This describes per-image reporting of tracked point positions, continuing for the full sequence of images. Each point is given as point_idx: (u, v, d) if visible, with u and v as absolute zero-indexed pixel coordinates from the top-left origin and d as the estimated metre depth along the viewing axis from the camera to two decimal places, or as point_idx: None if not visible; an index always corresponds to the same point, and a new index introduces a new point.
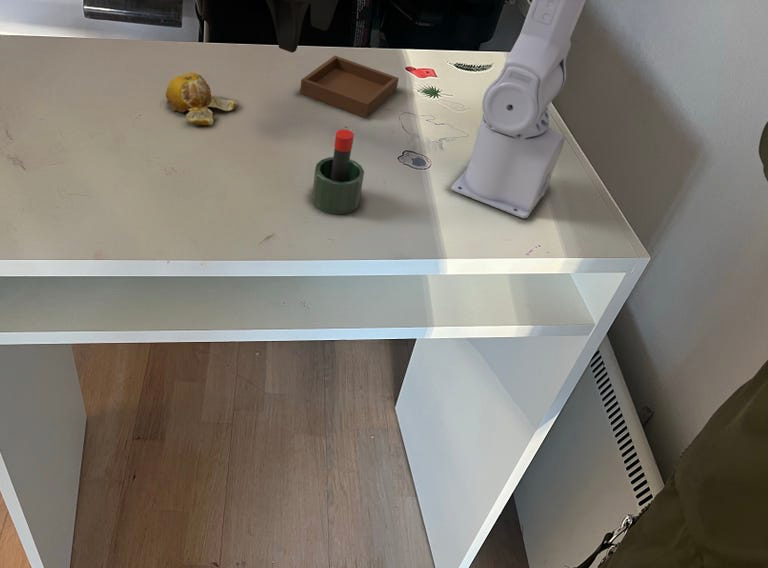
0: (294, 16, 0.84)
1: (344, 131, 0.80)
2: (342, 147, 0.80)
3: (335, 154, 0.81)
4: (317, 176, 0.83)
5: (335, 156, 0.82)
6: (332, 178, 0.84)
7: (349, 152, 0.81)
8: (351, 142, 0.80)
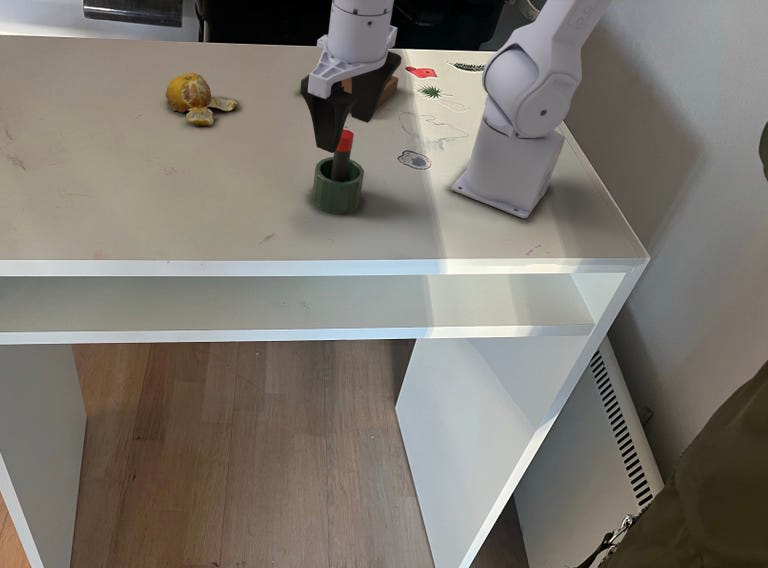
0: (337, 117, 0.73)
1: (344, 131, 0.80)
2: (342, 147, 0.80)
3: (335, 154, 0.81)
4: (317, 176, 0.83)
5: (335, 156, 0.82)
6: (332, 178, 0.84)
7: (349, 152, 0.81)
8: (351, 142, 0.80)
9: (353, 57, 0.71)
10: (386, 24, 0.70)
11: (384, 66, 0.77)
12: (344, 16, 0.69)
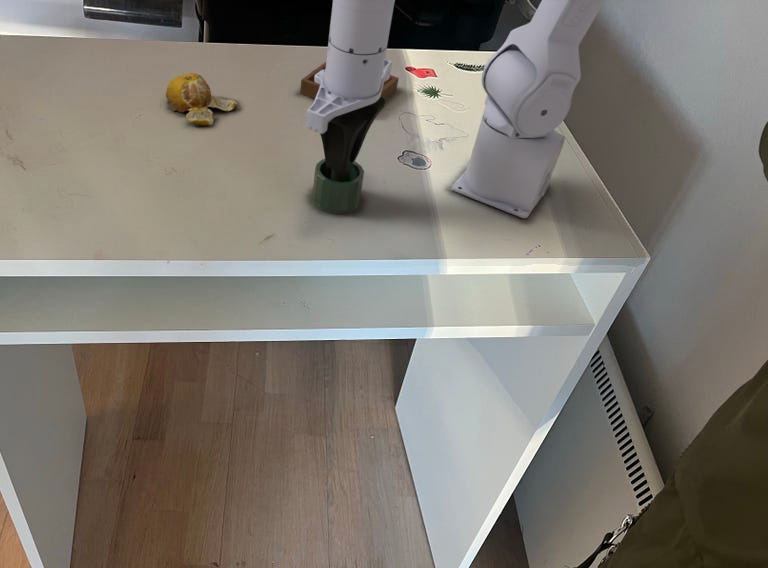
0: (346, 139, 0.77)
1: None
2: None
3: None
4: (317, 176, 0.83)
5: None
6: (332, 178, 0.84)
7: None
8: None
9: (349, 93, 0.74)
10: (380, 62, 0.72)
11: (368, 109, 0.78)
12: (340, 55, 0.71)
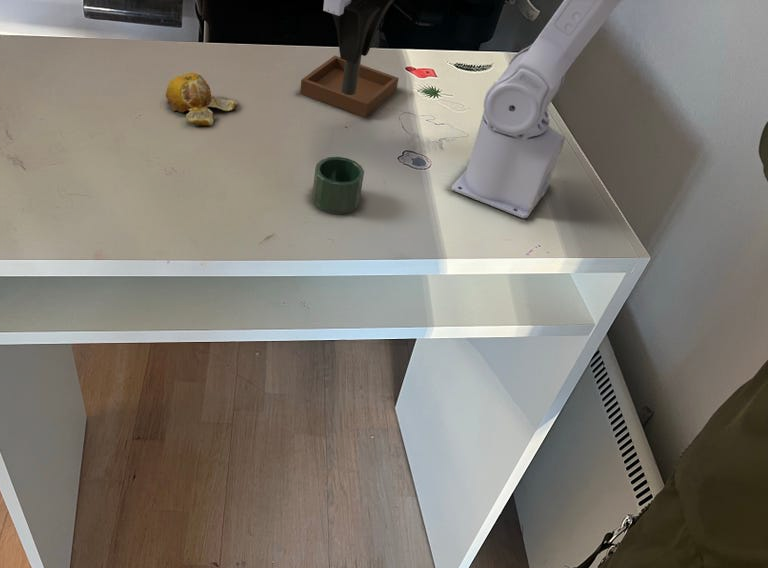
0: (360, 27, 0.83)
1: None
2: None
3: None
4: (317, 176, 0.83)
5: None
6: (345, 71, 0.89)
7: None
8: None
9: None
10: None
11: None
12: None
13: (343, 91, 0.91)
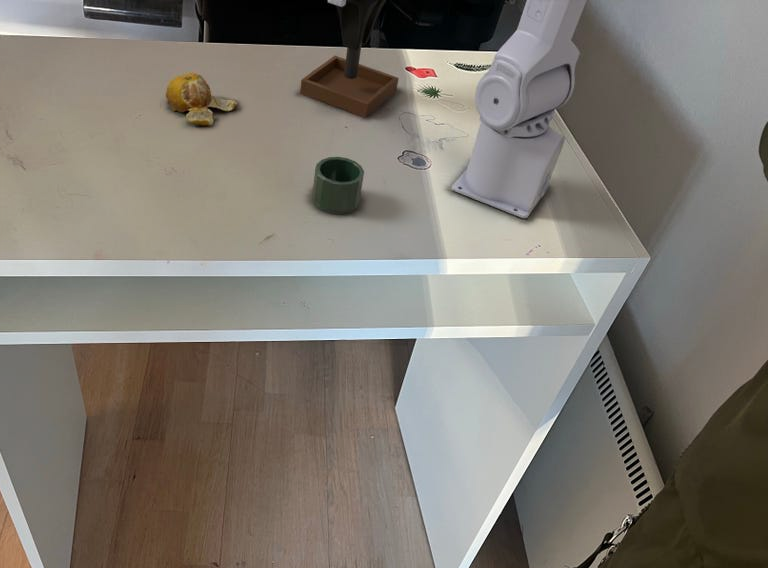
0: (360, 17, 0.93)
1: None
2: None
3: None
4: (317, 176, 0.83)
5: None
6: (347, 57, 1.00)
7: None
8: None
9: None
10: None
11: None
12: None
13: (345, 75, 1.01)
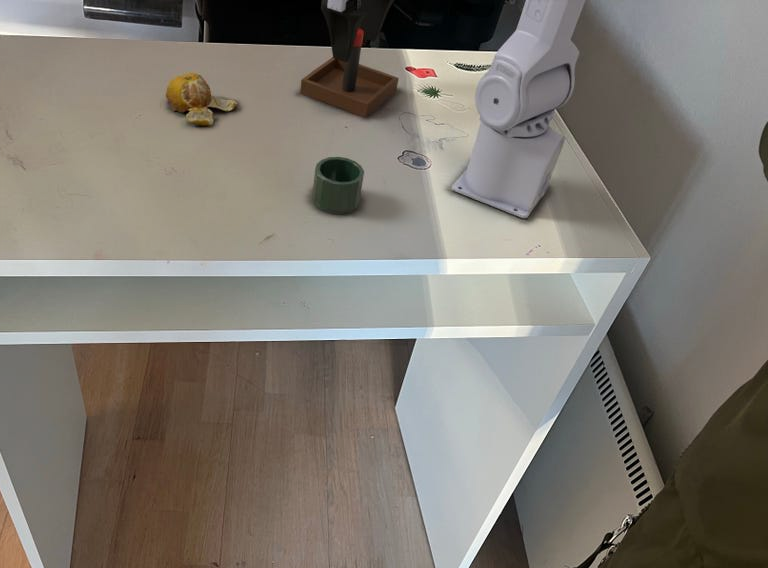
0: (350, 29, 0.92)
1: None
2: (354, 42, 0.98)
3: None
4: (317, 176, 0.83)
5: None
6: (345, 71, 1.01)
7: (360, 47, 0.98)
8: (361, 38, 0.98)
9: None
10: None
11: None
12: None
13: (343, 88, 1.03)
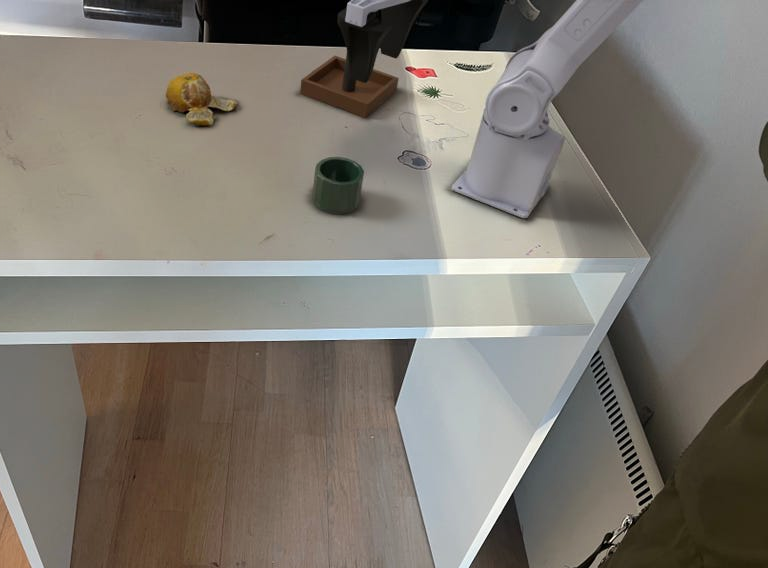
0: (371, 46, 0.80)
1: None
2: None
3: None
4: (317, 176, 0.83)
5: None
6: (345, 71, 1.01)
7: None
8: None
9: None
10: None
11: (413, 2, 0.84)
12: None
13: (343, 88, 1.03)
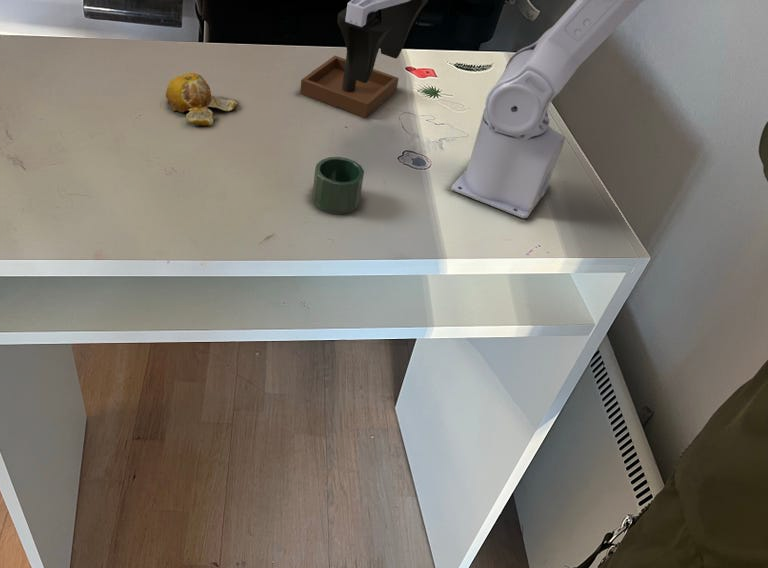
0: (371, 46, 0.80)
1: None
2: None
3: None
4: (317, 176, 0.83)
5: None
6: (345, 71, 1.01)
7: None
8: None
9: None
10: None
11: (413, 2, 0.84)
12: None
13: (343, 88, 1.03)
